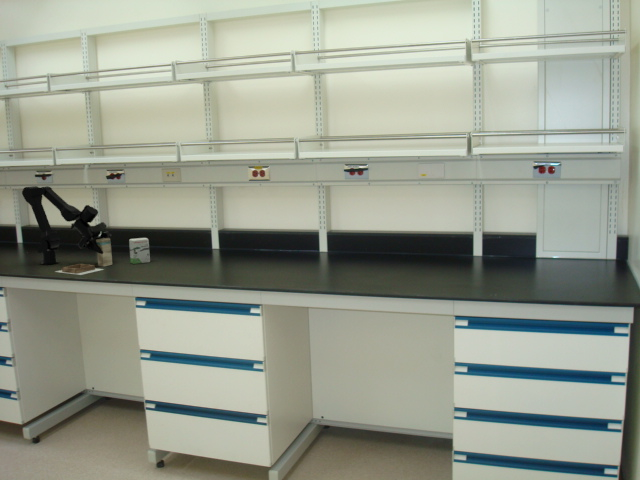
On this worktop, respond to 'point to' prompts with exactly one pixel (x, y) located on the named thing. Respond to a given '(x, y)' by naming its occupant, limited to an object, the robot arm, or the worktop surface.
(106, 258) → the tan box
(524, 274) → the worktop surface
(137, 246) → the ink box
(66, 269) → the brown wooden tray
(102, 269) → the mat
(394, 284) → the worktop surface
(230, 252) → the worktop surface
